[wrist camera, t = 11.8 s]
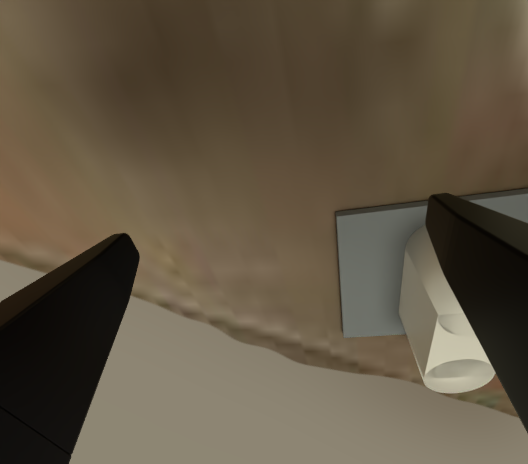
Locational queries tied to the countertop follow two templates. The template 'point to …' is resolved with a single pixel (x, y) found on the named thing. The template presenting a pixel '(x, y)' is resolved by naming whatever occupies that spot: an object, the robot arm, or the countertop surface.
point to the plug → (438, 324)
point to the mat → (390, 258)
